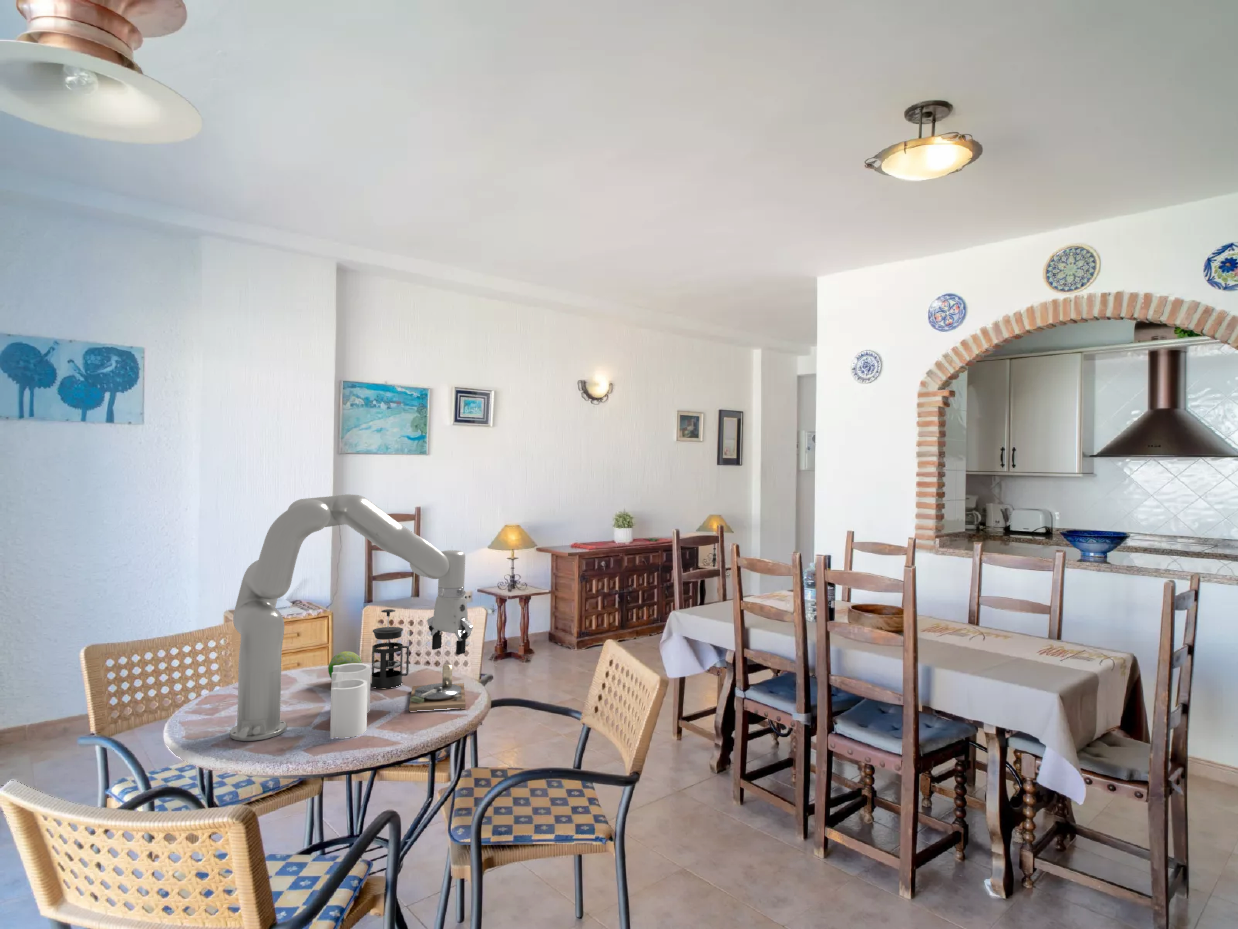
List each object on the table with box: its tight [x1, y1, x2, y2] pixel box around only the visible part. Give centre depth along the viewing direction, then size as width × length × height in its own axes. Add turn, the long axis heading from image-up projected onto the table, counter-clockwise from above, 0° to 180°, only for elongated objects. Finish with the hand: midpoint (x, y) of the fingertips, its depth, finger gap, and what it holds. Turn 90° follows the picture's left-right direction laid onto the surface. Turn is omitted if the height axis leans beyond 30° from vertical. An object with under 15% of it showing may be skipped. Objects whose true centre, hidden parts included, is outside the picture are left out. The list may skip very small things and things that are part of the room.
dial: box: [415, 663, 461, 701], centre depth 202 cm, size 14×13×7 cm
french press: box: [370, 608, 410, 689], centre depth 217 cm, size 12×9×23 cm
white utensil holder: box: [329, 662, 371, 739], centre depth 184 cm, size 25×10×12 cm, turn 19°
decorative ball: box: [327, 651, 363, 680], centre depth 216 cm, size 10×10×10 cm
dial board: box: [408, 682, 467, 712], centre depth 202 cm, size 20×15×2 cm
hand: (448, 651), depth 206 cm, fingers open, 9 cm apart
